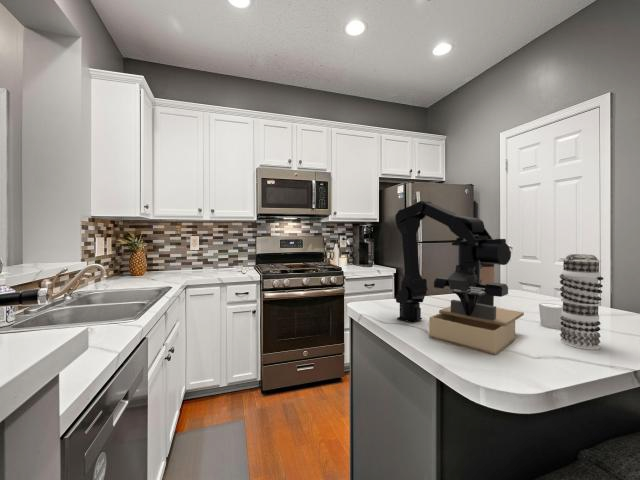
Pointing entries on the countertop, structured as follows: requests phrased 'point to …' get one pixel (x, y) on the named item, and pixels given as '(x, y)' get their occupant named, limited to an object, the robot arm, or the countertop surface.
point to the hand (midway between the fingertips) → (468, 315)
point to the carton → (471, 333)
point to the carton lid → (483, 313)
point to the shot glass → (550, 315)
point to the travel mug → (486, 282)
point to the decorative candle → (580, 301)
